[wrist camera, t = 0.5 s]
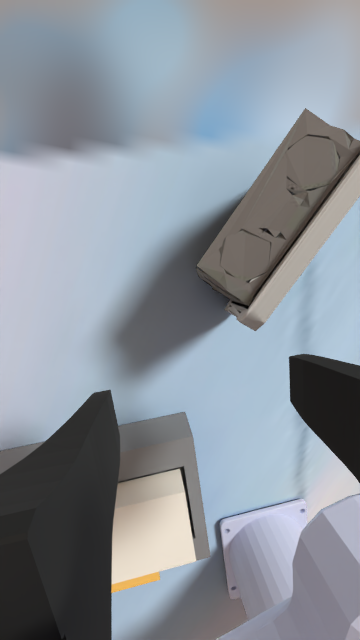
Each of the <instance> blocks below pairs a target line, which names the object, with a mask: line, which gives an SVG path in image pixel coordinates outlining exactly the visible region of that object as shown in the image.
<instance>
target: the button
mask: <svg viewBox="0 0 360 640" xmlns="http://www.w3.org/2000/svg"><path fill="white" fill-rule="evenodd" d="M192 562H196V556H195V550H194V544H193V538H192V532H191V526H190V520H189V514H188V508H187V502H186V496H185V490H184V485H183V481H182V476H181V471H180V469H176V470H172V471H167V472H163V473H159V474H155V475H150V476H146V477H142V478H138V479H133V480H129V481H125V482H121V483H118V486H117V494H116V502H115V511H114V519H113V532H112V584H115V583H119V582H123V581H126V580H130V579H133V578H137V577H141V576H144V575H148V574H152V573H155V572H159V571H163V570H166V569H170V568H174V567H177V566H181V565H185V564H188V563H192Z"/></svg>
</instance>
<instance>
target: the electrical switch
mask: <svg viewBox="0 0 360 640" xmlns="http://www.w3.org/2000/svg"><path fill="white" fill-rule="evenodd" d="M359 196H360V141H359V140H356V139H354V138H353V137H352V136H351V135H349V134H348V133H347V132H346V131H345V130H343V129H340V128H337V127H333V126H330V125H329V124H327V123H326V122H324V121H323V120H322V119H320V118H318V117H317V116H316V115H314V114H313V113H312V112H310V111H309V110H307V109H306V108H305V110H304V111H303V112H302V114H301V115H300V117H299V118H298V120H297V121H296V123H295V124H294V126H293V127H292V128H291V130H290V131H289V133H288V134H287V136H286V137H285V138H284V140H283V141H282V143H281V144H280V146H279V147H278V149H277V150H276V151H275V153H274V154H273V156H272V157H271V159H270V160H269V162H268V163H267V164H266V166H265V167H264V169H263V170H262V172H261V173H260V175H259V176H258V177H257V179H256V180H255V182H254V183H253V185H252V186H251V188H250V189H249V190H248V192H247V193H246V195H245V196H244V198H243V199H242V201H241V202H240V204H239V205H238V206H237V208H236V209H235V211H234V212H233V214H232V215H231V217H230V218H229V219H228V221H227V222H226V224H225V225H224V227H223V228H222V230H221V231H220V232H219V234H218V235H217V237H216V238H215V240H214V241H213V243H212V244H211V245H210V247H209V248H208V250H207V251H206V253H205V254H204V256H203V257H202V258H201V260H200V261H199V263H198V264H197V267H199V268H200V269H202V270H203V271H201V270H199V269H198V268H196V270H197V273H198V276H199V277H200V278H201V279H202V280H204V281H205V282H206V283H208V284H209V285H210V286H212V287H213V288H212V289H213V290H216V291H218V292H220V293H221V294H223V295H224V296H226V297H227V298H228V299H230V301H229V303H228V304H227V306H226V308H225V309H224V310H226V311H227V312H229V313H231V314H232V315H234V316H236V317H237V319H236V320H238V321H239V322H240V323H242V324H244V325H246V326H247V327H249V328H251V329H252V330H254V331H256V330H257V329H258V328H260V327H261V326H262V325H263V324H264V323H265V322H266V321H267V319H268V318H269V317H270V315H271V314H272V313H273V311H274V310H275V309H276V307H277V306H278V305H279V303H280V302H281V301H282V299H283V298H284V297H285V295H286V294H287V293H288V291H289V290H290V289H291V287H292V286H293V285H294V283H295V282H296V281H297V279H298V278H299V277H300V275H301V274H302V273H303V271H304V270H305V269H306V267H307V266H308V265H309V263H310V262H311V261H312V259H313V258H314V256H315V255H316V254H317V252H318V251H319V250H320V248H321V247H322V246H323V244H324V243H325V242H326V240H327V239H328V238H329V236H330V235H331V234H332V232H333V231H334V230H335V228H336V227H337V226H338V224H339V223H340V222H341V220H342V219H343V218H344V216H345V215H346V214H347V212H348V211H349V210H350V208H351V207H352V206H353V204H354V203H355V202H356V200H357V199H358V198H359Z"/></svg>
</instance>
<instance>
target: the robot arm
mask: <svg viewBox="0 0 360 640" xmlns="http://www.w3.org/2000/svg"><path fill="white" fill-rule="evenodd" d="M289 368H290V401H291V403H292V404H293V406H294V407H295V409H296V410H297V412H298V413H299V415H300V416H301V418H302V419H303V420H304V422H305V423H306V424H307V425H308V426H309V427H310V428H311V429H312V430H313V431H314V433H315V434H316V435H317V436H318V437H319V438H320V439H321V440H322V441H323V442H324V443H325V444H326V445H327V446H328V447H329V449H330V450H331V451H332V452H333V453H334V454H335V455H336V456H337V457H338V458H339V459H340V460H341V461H342V462H343V463H344V464H345V466H346V467H347V468H348V469H349V470H350V471H351V473H352V474H353V475H354V476H355V477H356V479H357V480H358V481H359V483H360V366H359V365H354V364H350V363H346V362H342V361H338V360H333V359H329V358H325V357H320V356H315V355H309V354H300V355H295V356H290V357H289ZM119 468H120V434H119V429H118V424H117V419H116V414H115V410H114V405H113V400H112V395H111V390H107V391H101V392H96V393H93V394H92V395H91V396H90V397H89V398H88V399H87V401H86V402H85V403H84V404H83V405H82V406H81V407H80V408H79V409H78V410H77V411H76V412H75V413H74V415H73V416H72V417H71V418H70V419H69V420H68V421H67V422H66V423H65V424H64V425H63V426H61V427H60V428H59V429H58V430H57V431H56V432H55V433H54V434H53V435H52V436H51V437H50V438H49V439H48V440H46V441H45V442H44V443H43V444H42V445H40V446H39V447H38V448H37V449H35V450H34V451H33V452H32V453H30V454H29V455H28V456H26V457H25V458H24V459H22V460H21V461H19V462H18V463H16V464H15V465H13V466H12V467H10V468H9V469H7V470H6V471H4V472H3V473H1V474H0V640H111V589H112V532H113V519H114V511H115V502H116V494H117V486H118V477H119ZM220 531H221V539H222V546H223V554H224V562H225V570H226V577H227V585H228V593H229V597H230V598H231V599H238V598H241V599H242V603H243V606H244V609H245V612H246V616H247V619H248V621H247V622H245V623H244V624H242V625H240V626H238V627H236V628H235V629H233V630H231V631H229V632H228V633H226V634H224V635H222V636H221V637H219V638H217V639H215V640H360V494H356V495H352V496H348V497H346V498H344V499H342V500H340V501H338V502H336V503H334V504H332V505H329V506H327V507H325V508H323V509H321V510H320V511H319V512H318V513H317V515H316V516H315V517H314V518H313V519H312V520H311V521H310V522H309V523H307V503H306V502H305V500H304V499H298V500H294V501H290V502H287V503H283V504H279V505H275V506H271V507H267V508H263V509H260V510H256V511H252V512H248V513H244V514H240V515H236V516H233V517H229V518H225V519H223V520H221V522H220Z"/></svg>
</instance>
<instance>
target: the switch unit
mask: <svg viewBox="0 0 360 640" xmlns="http://www.w3.org/2000/svg"><path fill="white" fill-rule="evenodd" d="M118 429H119V434H120V468H119V477H118V483H121V482H125V481H129V480H133V479H138V478H142V477H146V476H150V475H155V474H159V473H163V472H167V471H172V470H176V469H180V471H181V476H182V481H183V485H184V490H185V496H186V502H187V508H188V514H189V520H190V526H191V532H192V538H193V544H194V550H195V556H196V561H197V560H201V559H205V558H208V557H210V550H209V543H208V537H207V530H206V523H205V516H204V509H203V502H202V496H201V489H200V482H199V475H198V468H197V461H196V454H195V448H194V441H193V435H192V432H191V429H190V426H189V423H188V419H187V416H186V413H185V412H181V413H177V414H172V415H167V416H163V417H158V418H153V419H149V420H144V421H139V422H134V423H130V424H125V425H120V426H118ZM43 443H44V442H41V443H36V444H31V445H26V446H22V447H17V448H12V449H8V450H3V451H0V474H1V473H3V472H4V471H6V470H7V469H9V468H10V467H12V466H13V465H15V464H16V463H18V462H19V461H21V460H22V459H24V458H25V457H26V456H28V455H29V454H30V453H32V452H33V451H34V450H35V449H37V448H38V447H39V446H40V445H42V444H43ZM156 580H160V574H159V572H155V573H152V574H148V575H144V576H141V577H137V578H133V579H130V580H126V581H123V582H119V583H115V584H112V589H111V593H113V592H117V591H120V590H124V589H128V588H131V587H135V586H138V585H142V584H146V583H149V582H153V581H156Z"/></svg>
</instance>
